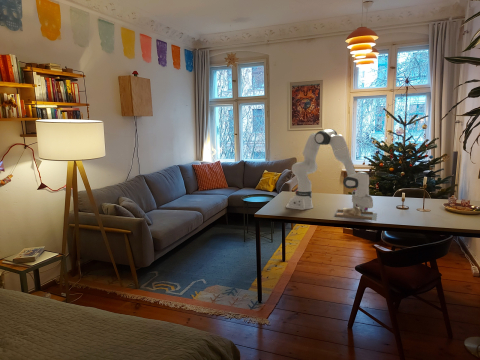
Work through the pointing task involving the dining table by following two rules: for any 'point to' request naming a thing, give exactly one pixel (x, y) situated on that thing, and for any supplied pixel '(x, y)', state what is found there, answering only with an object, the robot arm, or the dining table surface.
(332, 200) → the dining table surface
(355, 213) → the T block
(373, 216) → the mat
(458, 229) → the dining table surface
